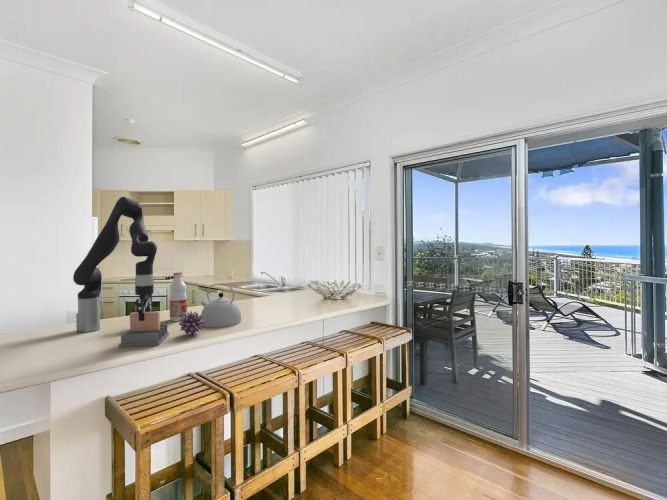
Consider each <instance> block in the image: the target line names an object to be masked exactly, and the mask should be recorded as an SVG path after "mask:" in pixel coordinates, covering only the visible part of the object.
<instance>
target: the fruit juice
mask: <svg viewBox="0 0 667 500" xmlns="http://www.w3.org/2000/svg"><path fill="white" fill-rule="evenodd" d="M172 275H173V279H172V282H171V284H170V285H169V292H170V294H169V320H170V321H172V322H182V321H181V320H180V319H182V318H181V316H185V315H184V314H185V313H186V314H188V298H187V296H188V295H187V292H186V291H187V284H186V283H185V282H184V280H183V272H180V271H179V272H173V274H172Z"/></svg>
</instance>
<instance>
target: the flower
mask: <svg viewBox="0 0 667 500" xmlns="http://www.w3.org/2000/svg"><path fill="white" fill-rule="evenodd" d="M184 315H185V316H181V318H182V319H180V320H181V321H180V322H179V323H178V325H179V326H180V331H181V332H182V331H183V332H184V334H186V335H189V333H190V335H192V336H193V335H196V334H197V333H199V332H200V331H199V330H202V328H203V326H202V325H201V324H202V323H204V321H202V320H200V319H201V318H202V317H201V316H202V315H201V314H200V315H199V313H198V312H197V311H194V312H193V311H192V310H191V311H187V314H186V313H185V314H184Z"/></svg>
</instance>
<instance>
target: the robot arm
mask: <svg viewBox="0 0 667 500" xmlns="http://www.w3.org/2000/svg"><path fill="white" fill-rule="evenodd" d="M121 216H123V217H126V218H129V219H132V221H133V222H132V223H131V224H130V225H129V228H128V229H129V235H130V238H131V247H130V252H131V254H132V256H134V257H139V258H140V257H141V258H142V257H146V259H145V260H141V261H137V262H136V263H135V278H134V289H135V290H134V293H135V295H136V296H138V297H139V298H137V299H135V301H136V311H135V312H138V313H139V321H144V320H145V318H144V312H150V308H151V306H152V307H153V295H154V294H155V293H154V292H155V291H154V290H155V289H154V287H155V285H154V284H155V283H154V261H155V257H156V254H157V252H158V250H157V249H158V247H157V246H158V245H157V244H156V243H155V242H154V241H149V238H150V237H149V233H148V231H147V229H146V225H145V219H144V209H143V205H142V204H141V203H140V202H139V201H137V200H134V199H131V198H129V197H127V196H122V197H119V198H118V200H117V201H116V202H115V204H114V206H113V209H112V210H111V212H110V215H109V217H108V219H107V221H106V222H105V224H104V226H103V228H102V229H101V231H100V233H99V234H98V235H97V237H96V239H95V240H94V243H93V244H92V246H91V248H90V249H89V251H88V253H87V254H86V256H85V258H84V259H83V260H82V262H81V263H79V265H78V266H77V268H76V269H75V271H74V273H73V277H72V280H73V282H74V284H75V285H78V286H83V288H82V289H81V290H80V291H79V292H78V293H77V312H76V314H75V319H76V320H75V321H76V322H75V323H76V324H75V325H76V332H77V331H79V332H78V333H90V332H95V331H99V330H101V312H100V310H101V307H100V305H101V303H100V302H101V301H100V300H101V299H100V294H101V291H102V282H103V281H102V278H103V277H102V276H103V275H102V272H101V270H100V269H99V267H98V265H99V264H100V263H102V261H104V260H105V259H106V258H107V257H109V256H110V255H111V254H112V253H113V252H114V250H115V249H116V247H117V246H118V244H119V242H120V231H119V221H120V219H121ZM151 309H152V308H151Z"/></svg>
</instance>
